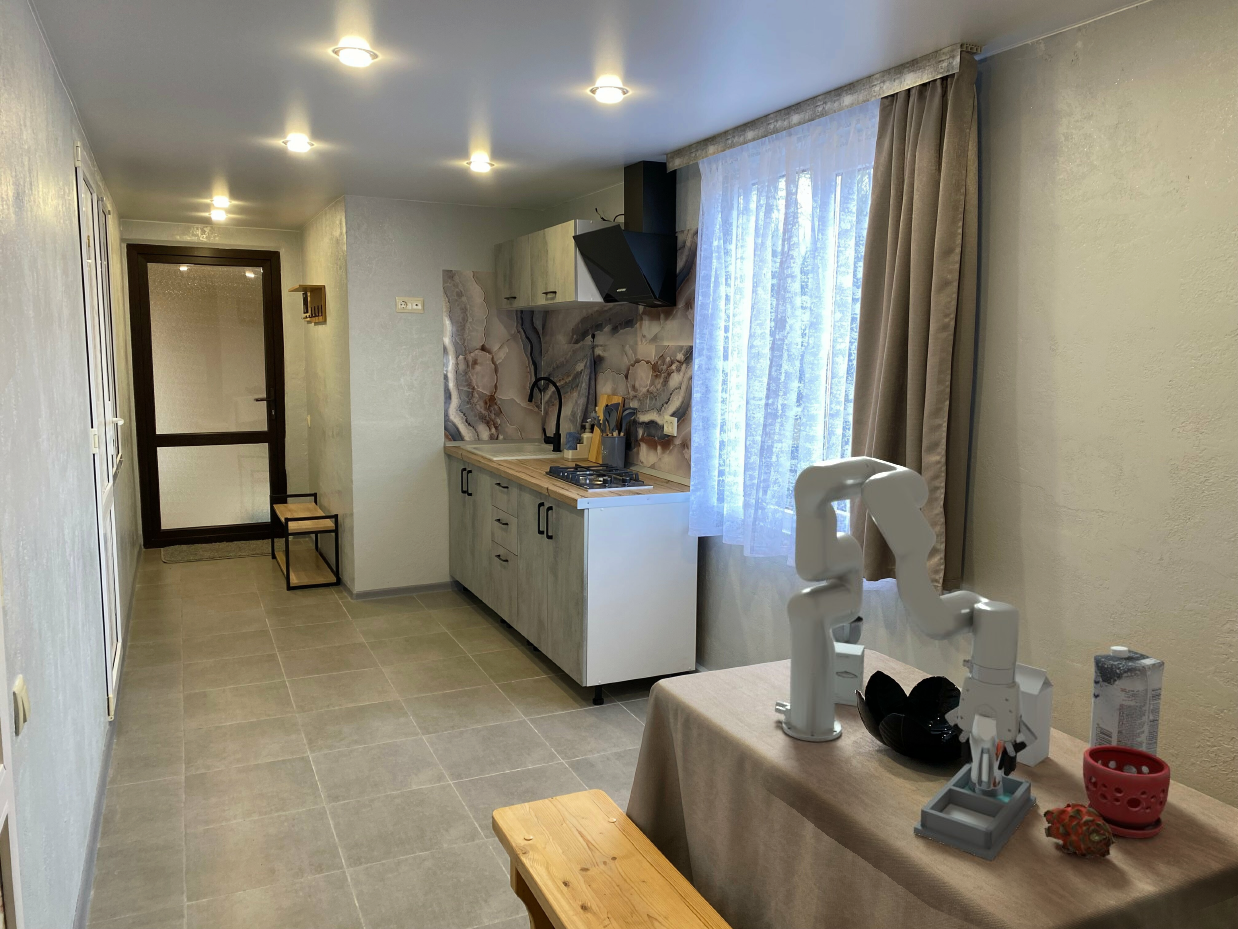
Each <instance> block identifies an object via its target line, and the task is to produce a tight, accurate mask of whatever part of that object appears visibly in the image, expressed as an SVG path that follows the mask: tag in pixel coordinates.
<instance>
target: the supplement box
mask: <svg viewBox="0 0 1238 929" xmlns="http://www.w3.org/2000/svg"><path fill="white" fill-rule="evenodd" d="M833 643H834V645H835V650H836V681H835V704H838V705H839V704H841V705H848V706H854V707H857V700H856V693H855V690H859V691H861V693H863V692H864V688H863V687H864V673H865V672H864V670H865V649H866V646H865V645H863V644H862V645H860V644H856V645H853V644H845V643H837V642H835V641H833ZM863 694H864V693H863Z"/></svg>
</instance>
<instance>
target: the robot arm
mask: <svg viewBox="0 0 1238 929" xmlns="http://www.w3.org/2000/svg"><path fill="white" fill-rule="evenodd" d="M793 494H794V495H793V496H794V505H795V538H794V540H795V542H794V544H795V545H794V546H795V549H794V566H795V570H796V571H795V572H796V573H797V575H798V577H799V578H800V579H801V580H802V581H805V582H808V583H818V582H819V583H820V582H824V581H825V583H822V584H816V585H814V586H808V587H805V588H803V589H800V590H798V591H797V592H795V593H794V594H792V596H791V597H790V598H789V600H788V602H787V605H786V617H787V623H788V628H789V636H790V678H789V679H790V682H789V684H790V685H789V687H790V688H789V703H788V702H786V701H783V700H777V701H775V702H776V703H775V709H774V712H775V713H777V714H779V715H783V716H784V718H783V719H782V728H781V729H782V730H783V731H784V733H785V734H787V735H789V736H790V737H792V738H795V739H798V740H801V741H807V742H816V743H817V742H827V741H832V740H834V739H835V740H836V739H837V738H838V737H840V736H841V735H842V731H843V730H842V728H843V727H842V725H841V723H840V722H839V721H838V720H837V719H835V718H836V717H835V716H836V712H835V711H836V709H835V708H836V703H835V681H836V650H835V645H834V640H833V637H832V635H831V634H830V633H831V629H832V628H835V627H838V626H841V625H845V624H847V623H850V622H852V621H854V620H855V619H856V618H857V617H858V615H859V616H860V614H861V611H862V608H863V596H864V594H863V593H864V568H865V567H864V566H865V565H864V564H865V563H864V562H865V561H864V553H863V550H862V547H861V545H860V543H859V541H858V540H857V539H856V538H855V537H854V536H853V535H852V534H850V533H847V532H843V531H838V518H837V512H836V511H835V508H834V506H833V504H832V503H834V502H835V503H836V502H841V501H847V500H855V499H860V498H861V500H862V503H863V504H864V506H865V508H866V510H867V512H868V513H869V515H870V517H871V518H872V520H873V522H874V524H875V525H876V526H877V528H878V530H879V532H880V533H881V535H882V537H883V538H884V540H885V542H886V543H887V545H888V547H889V548H890V550H891V552H892V554H893V555H894V558H895V580H896V587H897V592H898V596H899V599H900V601H901V602H902V604H903V606H904V608H905V610H906V612H907V613H908V615H909V616H910V618H911V619H912V621H913V623H914V624H915V626H916V627H917V629H919V630H920V632H922V634H924V636H926V637H927V638H929V639H931V640H934V641H938V642H939V641H940V642H941V641H946V640H950V639H953V638H956V637H958V636H961V635H967V634H971V648H970V649H971V650H970V651H971V653H970V654H971V655H970V658H969V659H967V658H966V659H965V658H964V659H963V660H962V667H965V668H967V669H968V673H966V674H965V675H964V678H963V682H962V686H961V691H960V697H959V703H958V706H957V707H955V708H954V709H952V710H950V711H949V712H947V713H946V714H945V715H944V717H945V719H946V721H947V722H948V724H949V726H951V727H952V728H951V729H952V730H953V731H954V732H955V734H956V735H957V736H958V740H959V741H960V742H961V744H960V745H961V746H960V757H962V763H963V764H964V765H966V764H970V763H971V756H970V748H969V738H968V732H972V728H973V723H974V719H975V713H976V714H979V715H982V716H985V717H990V718H995V720H996V734H997V739H998V740H1000V741H1004V742H1006V743H1005V746H1006V749H1007V753H1006V754H1005V757H1004V771H1003V774H1004V775H1005V776H1007V777H1008V776H1011V773H1012V772H1015V771H1016V769H1017V762H1018V761H1017V753H1019V752H1020V751H1022V750H1024V749H1025V748H1026V747H1028V746H1030V745H1031V744H1033V743H1034V742H1035V741H1036V740H1037V739H1038V738H1037V736H1036V735H1035V734H1034V732H1033V731H1032V730H1031V729H1030V728H1029V727H1028V725H1027V724H1026V723H1025V722H1024V721H1023V711H1022V697H1021V689H1020V684H1019V682H1018V681H1016V670H1017V663H1018V650H1019V637H1020V636H1019V632H1020V611H1019V610H1018V608H1017V607H1015V606H1014V605H1013V604H1011V603H1010V604H1009V603H1007V602H1003V601H996V600H995V601H993V600H991V599H989V598H986V597H984V596H982V595H980V594H977V593H976V592H973V591H969V590H959V591H955V592H951V593H947V594H944V595H939V593H938V592H937V590H936V588H935V587H934V585H933V583H932V581H931V579H930V576H929V573H928V568H927V567H928V565H927V562H928V557H929V554H930V552H931V550H932V548H933V547H934V545H935V544H936V542H937V534H936V532H935V531H934V530H933V528H932V526H931V525H930V523H929V522H928V520H927V518H926V517H925V515H924V514H923V512H922V511H921V508H922V507H924V506H925V505H926V503H927V501H928V499H929V496H930V495H929V494H930V493H929V487H928V484H927V482H926V480H925V479H924V477H923V476H922V475H921V474H920V473H919V472H917V471H915V470H913V469H910V468H908V467H905V466H901V465H897V464H894V463H891V462H887V461H884V460H882V459H881V460H880V459H877V458H873V457H868V456H855V457H854V456H853V457H847V458H836V459H830V460H829V459H828V460H825V461H824V460H823V461H820V462H817V463H816V462H815V463H814V464H812V465H809V466H807V467H806V468H804V469H803V470H801V472H800V473H799V475H798V476H797V478H796V480H795V483H794V492H793ZM1009 730H1010V731H1009ZM1020 733H1022V734H1023V735H1024V736H1025V739H1024V740H1022V741H1020V742H1018V741H1017V739H1016V738H1017V735H1018V734H1020Z"/></svg>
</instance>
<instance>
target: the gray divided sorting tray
mask: <svg viewBox="0 0 1238 929" xmlns="http://www.w3.org/2000/svg"><path fill="white" fill-rule="evenodd" d="M971 770H972V764H971V763H968V764H964V766H962V768H961V769H960V770H959V771H958V772H957V773H956V774H955V775H954V776H953V777H951V779H950V780H949V781H947V783H946V784H944V786H942V787H941V789H940V790H939V791H937V793H936V794H935V795H934V796H933V797H932V798H930V800H929V801H928V802H927V803H926V804H925V805H924V806H922V808H921V809H920V820H919V821H917V823H916V824H915V825H913V834H914V833H916V834H915V835H917V834H920V835H922V836H921V837H923V836H925V837H927V838H926V839H928V838H931V839H933V840H932V841H934V840H935V841H934V842H937V841H938V842H937V843H939V842H941V843H940V844H942V843H944V844H943V845H945V844H946V845H945V846H948V845H949V846H948V847H951V846H952V848H953V847H954V849H956V848H957V850H959V849H960V851H962V850H963V852H965V853H968V854H970V853H972V854H971V855H973V854H975V855H974V856H976V855H977V857H979V858H983V859H984V860H986V861H987V860H988V861H990V862H993V860H994V859H995V857H997V855H998V854H999V852H1000V851H1002V849H1003V847H1004V846H1005V844H1006V843H1007V842H1008V841H1009V839H1010V838H1011V836H1012V835H1013V834H1014V833H1015V831H1016V830H1017V829H1018V827H1019V826H1020V825H1021V823H1023V821H1024V819H1025V818H1026V817H1027V816H1028V815H1029V813H1030V812H1029V811H1031V810H1032V809H1033V808H1034V806H1035V805H1036V804H1037V796H1035V795H1033V794H1032V781H1029V780H1026V779H1023V778H1020V777H1015V776H1012V775H1009V776H1008V777H1007V776H1005V775H1004V773H1003V782H1004V790H1005V793H1004V795H1003V796H1001V797H999V798H989V797H986V796H983V795H980V794H977V793H973V792H971V791H970V789H969V787H968V784H969V780H970V776H971ZM1035 803H1036V804H1035ZM1034 804H1035V805H1034ZM1033 805H1034V806H1033ZM1032 807H1033V808H1032ZM1031 808H1032V809H1031ZM1028 812H1029V813H1028ZM1025 816H1026V817H1025ZM1022 820H1023V821H1022ZM1019 824H1020V825H1019ZM1016 828H1017V829H1016ZM920 835H919V836H920ZM925 837H924V838H925ZM931 839H930V840H931Z"/></svg>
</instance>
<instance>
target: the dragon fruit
mask: <svg viewBox="0 0 1238 929" xmlns="http://www.w3.org/2000/svg"><path fill="white" fill-rule="evenodd" d="M1042 814H1043V818H1045V822H1046V823H1047V825H1048V826H1046V827H1044V834H1045V837H1046V838H1052V839H1056V840H1058V841H1059V840H1060V841H1061V842H1062V843H1061V850H1062V851H1063V852H1065V853H1066V854H1069V853H1070V854H1072V853H1073V852H1076V853H1077V855H1078V856H1079V857H1082V858H1085V859H1092V858H1093V857H1094V856H1097V857H1100V858H1105V857H1106V858H1107V857H1109V856H1111V851H1110V850H1111V849H1110V848H1111V846H1112V845H1114V844H1116V841H1115V840H1114V838H1113V837H1114V836H1113V833H1112V831H1111V829H1110V828H1109V826H1108V825H1107V824H1106V822H1104V821H1103V819H1102V817H1101V816H1100V815H1099V814H1098V813H1097V812H1096V811H1095V810H1093V809H1092V808H1087V805H1085V804H1082V803H1081V802H1080V803H1079V802H1074V801H1073V802H1070V803H1067V804H1066V805H1065V806H1064V807H1061V808H1060V807H1055V808H1052V809H1047V810H1045V811H1044V812H1043V813H1042Z"/></svg>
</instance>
